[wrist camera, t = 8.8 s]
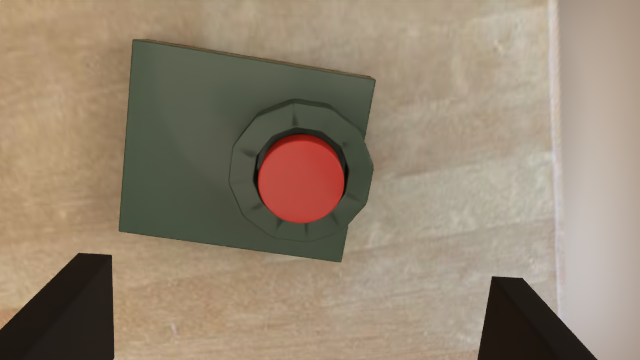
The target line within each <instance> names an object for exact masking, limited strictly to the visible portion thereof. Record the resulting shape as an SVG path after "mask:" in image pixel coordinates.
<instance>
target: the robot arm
mask: <svg viewBox="0 0 640 360" xmlns="http://www.w3.org/2000/svg"><path fill="white" fill-rule="evenodd" d="M113 359H114V324H113V285H112V255H105V254H88V253H78V254H77V255H76V256H75V257H74V258H73V259H72V260H71V261H70V262H69V263H68V264H67V265H66V266H65V267H64V268H63V269H62V270H61V271H60V272H59V273H58V274H57V275H56V276H55V277H54V278H53V279H52V280H51V281H50V282H48V283H47V284H46V285H45V286H44V287H43V288H42V289H41V290H40V291H39V292H38V293H37V294H36V295H35V296H34V297H33V298H32V299H31V300H30V301H29V302H28V303H27V304H26V305H25V306H24V307H23V308H22V309H21V310H20V311H19V312H18V313H17V314H16V315H15V316H14V317H13V318H12V319H11V320H10V321H9V322H8V323H7V324H6V325H5V326H4V327H3V328H2V329H1V330H0V360H113ZM478 360H597V359H596V358H595V357H594V355H593V354H592V353H591V352H590V351H589V350H588V349H587V348H586V347H585V346H584V345H583V343H581V341H580V340H579V339H578V338H577V337H576V336H575V335H574V334H573V333H572V331H571V330H570V329H569V328H568V327H567V326H566V325H565V324H564V323H563V322H562V321H561V319H560V318H559V317H558V316H557V315H556V314H555V313H554V312H553V311H552V310H551V309H550V307H549V306H548V305H547V304H546V303H545V302H544V301H543V300H542V299H541V298H540V297H539V295H538V294H537V293H536V292H535V291H534V290H533V289H532V288H531V287H530V286H529V285H528V283H527V282H526V281H525V280H524V279H523V278H512V277H495V276H492V280H491V285H490V291H489V297H488V302H487V308H486V314H485V320H484V325H483V331H482V337H481V342H480V348H479V354H478Z"/></svg>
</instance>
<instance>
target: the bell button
mask: <svg viewBox="0 0 640 360" xmlns="http://www.w3.org/2000/svg"><path fill="white" fill-rule="evenodd" d="M258 189H259V193H260V196H261V198H262V200H263V202H264V204H265V205H266V207H267V208H268V209H269V210H270V211H271V212H272V213H273V214H274V215H276V216H277V217H279V218H281V219H283V220H286V221H289V222H293V223H309V222H313V221H317V220H319V219H321V218H323V217H325V216H326V215H328V214H329V213H330V212H331V211H332V210H333V209H334V208H335V207H336V205H337V204H338V202H339V201H340V199H341V196H342V193H343V189H344V174H343V170H342V167H341V164H340V160H339V158H338V156H337V154H336V152H335V151H334V150H333V148H332V147H331V146H330V145H329V144H328V143H327V142H325V141H324V140H322V139H320V138H318V137H316V136H313V135H308V134H294V135H289V136H286V137H284V138H282V139H280V140H278V141H277V142H276V143H274V144H273V145H272V146H271V147H270V148H269V150H268V151H267V152H266V154H265V156H264V158H263V161H262V164H261V167H260V170H259V175H258Z"/></svg>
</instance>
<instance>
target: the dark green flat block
mask: <svg viewBox="0 0 640 360" xmlns="http://www.w3.org/2000/svg"><path fill="white" fill-rule="evenodd" d="M375 81H376V80H375V79H373V78H371V77H370V76H364V75H358V74H352V73H346V72H340V71H334V70H329V69H323V68H317V67H311V66H305V65H299V64H293V63H287V62H281V61H275V60H269V59H263V58H257V57H251V56H245V55H239V54H233V53H227V52H221V51H215V50H209V49H203V48H197V47H191V46H185V45H179V44H173V43H167V42H161V41H156V40H150V39H133V45H132V59H131V72H130V86H129V99H128V113H127V126H126V140H125V153H124V167H123V180H122V194H121V207H120V221H119V231H120V232H127V233H134V234H141V235H148V236H155V237H162V238H170V239H177V240H184V241H191V242H198V243H205V244H213V245H220V246H227V247H234V248H241V249H248V250H256V251H263V252H270V253H277V254H284V255H291V256H298V257H306V258H313V259H320V260H327V261H334V262H341V260H342V255H343V250H344V245H345V239H346V234H347V229H348V224H349V223H350V222H351V221H352V220H353V219H354V217H355V216H356V215H357V214H358V213H359V212H360V211H361V209H362V208H363V207H364V206H365V205H366V202H367V200H368V195H369V190H370V185H371V180H372V175H373V170H374V169H373V164H372V161H371V158H370V155H369V152H368V150H367V147H366V144H365V141H364V139H365V134H366V129H367V124H368V118H369V113H370V108H371V102H372V97H373V92H374V87H375ZM294 134H308V135H313V136H316V137H318V138H320V139H322V140H324V141H325V142H327V143H328V144H329V145H330V146H331V147H332V148H333V150H334V151H335V152H336V154H337V156H338V158H339V160H340V164H341V167H342V170H343V174H344V189H343V193H342V196H341V199H340V201H339V202H338V204H337V205H336V207H335V208H334V209H333V210H332V211H331V212H330V213H329V214H328V215H326V216H325V217H323V218H321V219H319V220H317V221H313V222H309V223H293V222H289V221H286V220H283V219H281V218H279V217H277V216H276V215H274V214H273V213H272V212H271V211H270V210H269V209H268V208H267V207H266V205H265V204H264V202H263V200H262V198H261V196H260V193H259V189H258V175H259V170H260V167H261V164H262V161H263V158H264V156H265V154H266V152H267V151H268V150H269V148H270V147H271V146H272V145H273V144H274V143H276V142H277V141H278V140H280V139H282V138H284V137H286V136H289V135H294Z"/></svg>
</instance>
